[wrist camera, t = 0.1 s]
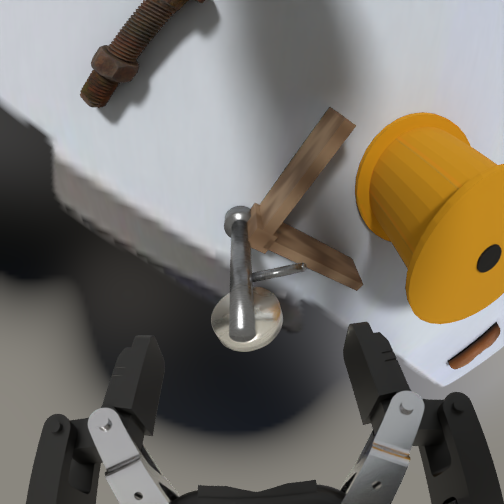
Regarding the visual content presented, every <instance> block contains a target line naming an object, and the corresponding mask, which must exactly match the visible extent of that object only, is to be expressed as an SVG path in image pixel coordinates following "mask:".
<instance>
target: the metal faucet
mask: <svg viewBox="0 0 504 504" xmlns="http://www.w3.org/2000/svg"><path fill="white" fill-rule="evenodd" d="M250 217H251V209H250V208H248V207H245V206H236V207H233V208H231V209H230V210H229V211H228V212H227V213H226V215H225V223H224V229H225V232H226V234H227V235H228V236H229V237H231V260H230V293H229V294H227V295H226V296H225V297H223V298H222V299H221V300H220V301H219V302H218V304H217V305H216V307H215V308H214V310H213V313H212V319H211V323H212V326H213V329H214V331H215V333H216V334H217V336H218V338H219V339H220V341H221V342H222V343H223V344H224V345H225V346H226V347H228V348H230V349H232V350H236V351H253V350H257V349H259V348H262V347H264V346H265V345H267V344H269V343H270V342H271V341H272V340H273V339H274V338H275V337H276V336H277V335H278V333H279V332H280V330H281V327H282V324H283V315H282V311H281V307H280V304H279V301H278V299H277V297H276V296H275V295H274V294H273V293H272V292H271V291H269V290H267V289H264V288H261V287H253V282H256V281H261V280H266V279H271V278H275V277H280V276H285V275H289V274H294V273H298V272H303V271H305V270H306V268H307V266H306V264H305V263H303V262H301V263H297V264H292V265H288V266H283V267H278V268H274V269H269V270H264V271H260V272H255V273H252V262H251V245H250V242H249V241H248V227H247V222H248V220H249V219H250Z"/></svg>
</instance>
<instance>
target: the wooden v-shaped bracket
mask: <svg viewBox="0 0 504 504" xmlns="http://www.w3.org/2000/svg"><path fill="white" fill-rule="evenodd" d="M355 127H356V125H354V124H353V123H352V122H350V121H349V120H348V119H346V118H345V117H344V116H342V115H341V114H339V113H338V112H336V111H335V110H333V109H332V108H331V107H329V109H328V110H327V111H326V113H325V114H324V116H323V117H322V118H321V120H320V121H319V122H318V124H317V125H316V127H315V128H314V129H313V131H312V132H311V133H310V135H309V136H308V138H307V139H306V140H305V142H304V143H303V145H302V146H301V147H300V149H299V150H298V151H297V153H296V154H295V156H294V157H293V158H292V160H291V161H290V163H289V164H288V165H287V167H286V168H285V170H284V171H283V173H282V174H281V175H280V177H279V178H278V180H277V181H276V182H275V184H274V185H273V187H272V188H271V190H270V191H269V192H268V194H267V195H266V197H265V198H264V199H263V201H262V202H261V204H260V205H258V204H256V203H254V205H253V206H252V208H251V217H250V219H249V220H248V222H247V227H248V241H249V242H250V245H251V248H253V249H256V250H258V251H260V252H262V253H264V254H265V253H266V252H267V251H268V250H270V251H272V252H274V253H276V254H279V255H281V256H283V257H285V258H287V259H289V260H292V261H294V262H296V263H301V262H303V263H305V264H306V266H307V268H309V269H311V270H313V271H315V272H318V273H320V274H322V275H324V276H326V277H328V278H331V279H333V280H335V281H337V282H339V283H341V284H343V285H346V286H348V287H350V288H352V289H354V290H356V291H357V290H358V289H359V288H360V287H361V286H362V285H363V283H362V280H361V278H360V276H359V273H358V271H357V269H356V266H355V264H354V262H353V260H352V258H350V257H348V256H346V255H344V254H342V253H341V252H339V251H337V250H335V249H333V248H331V247H329V246H328V245H326V244H324V243H322V242H320V241H318V240H316V239H314V238H312V237H311V236H309V235H307V234H305V233H303V232H301V231H299V230H297V229H295V228H293V227H291V226H289V225H287V224H285V223H284V222H283V221H284V220H285V219H286V217H287V216H288V215H289V213H290V212H291V211H292V209H293V208H294V207H295V206H296V204H297V203H298V202H299V200H300V199H301V198H302V196H303V195H304V194H305V192H306V191H307V190H308V189H309V187H310V186H311V185H312V183H313V182H314V181H315V179H316V178H317V177H318V175H319V174H320V173H321V172H322V170H323V169H324V168H325V166H326V165H327V164H328V162H329V161H330V160H331V158H332V157H333V156H334V154H335V153H336V152H337V150H338V149H339V148H340V147H341V145H342V144H343V143H344V141H345V140H346V139H347V137H348V136H349V135H350V133H351V132H352V131H353V129H354V128H355Z"/></svg>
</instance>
